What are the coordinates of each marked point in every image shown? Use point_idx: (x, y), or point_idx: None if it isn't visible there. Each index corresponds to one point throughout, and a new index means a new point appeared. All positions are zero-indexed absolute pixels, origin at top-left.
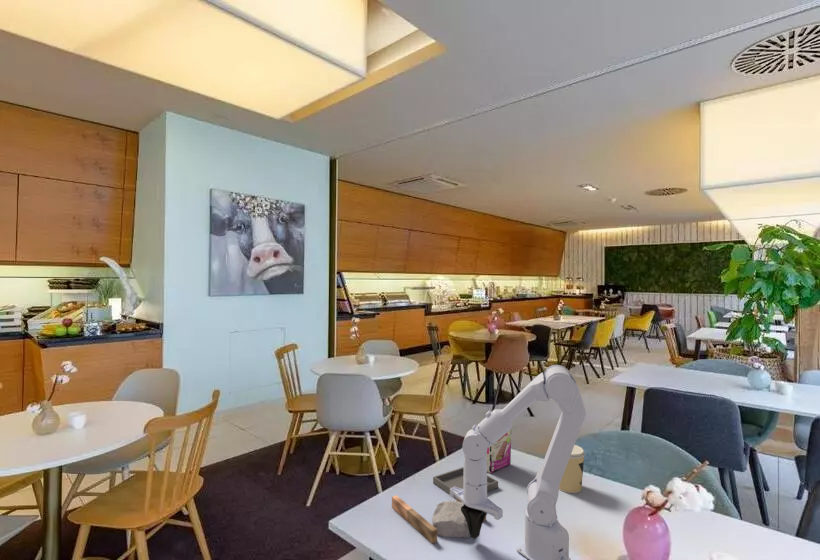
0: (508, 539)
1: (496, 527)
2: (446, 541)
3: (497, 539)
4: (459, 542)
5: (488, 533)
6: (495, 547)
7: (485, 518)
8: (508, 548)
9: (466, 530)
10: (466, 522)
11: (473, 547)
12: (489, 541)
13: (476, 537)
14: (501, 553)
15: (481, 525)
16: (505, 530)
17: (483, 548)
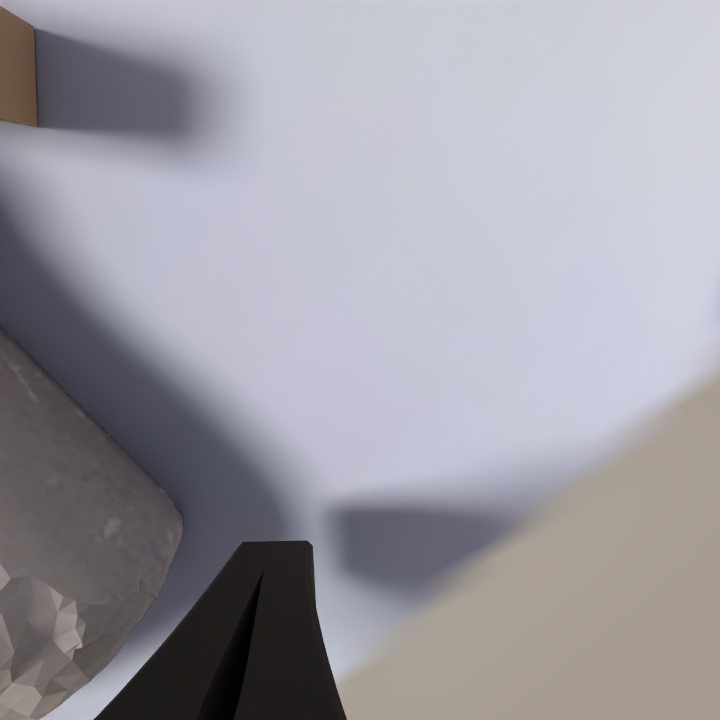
0: (539, 197)
1: (267, 74)
2: (104, 684)
3: (433, 305)
4: None
5: (282, 287)
6: (493, 438)
7: (11, 29)
8: (615, 349)
9: (146, 606)
10: (57, 641)
11: (330, 585)
12: (386, 404)
13: (314, 594)
14: (589, 468)
15: (321, 647)
16: (404, 32)
17: (409, 533)
